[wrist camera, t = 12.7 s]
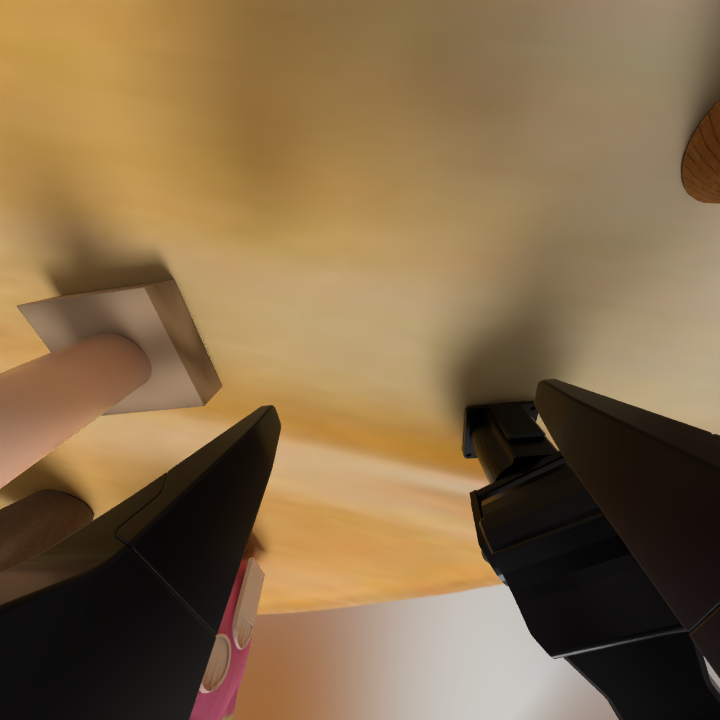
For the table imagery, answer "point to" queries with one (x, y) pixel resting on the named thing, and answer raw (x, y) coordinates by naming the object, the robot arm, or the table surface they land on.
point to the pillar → (63, 396)
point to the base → (136, 339)
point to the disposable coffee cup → (704, 160)
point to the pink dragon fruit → (230, 647)
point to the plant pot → (38, 525)
